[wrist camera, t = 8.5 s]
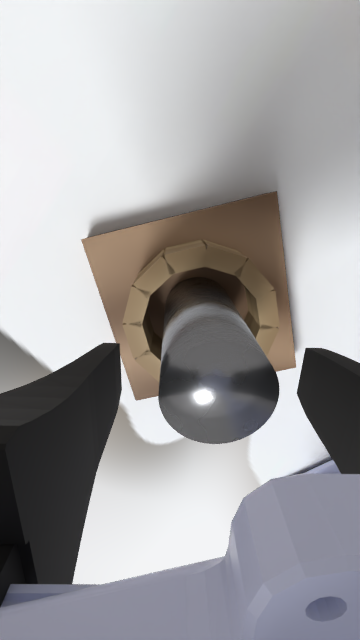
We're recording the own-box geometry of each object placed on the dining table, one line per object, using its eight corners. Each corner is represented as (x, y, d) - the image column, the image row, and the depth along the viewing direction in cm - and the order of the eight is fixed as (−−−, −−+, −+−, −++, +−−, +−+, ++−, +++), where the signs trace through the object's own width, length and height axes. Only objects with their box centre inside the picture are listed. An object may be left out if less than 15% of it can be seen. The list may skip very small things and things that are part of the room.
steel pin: (242, 318, 19) (299, 409, 10) (187, 350, 19) (199, 460, 11) (209, 263, 17) (242, 317, 9) (152, 300, 18) (134, 381, 10)
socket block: (289, 358, 21) (314, 391, 17) (137, 390, 22) (130, 428, 18) (270, 192, 17) (296, 188, 14) (87, 237, 18) (64, 245, 14)
